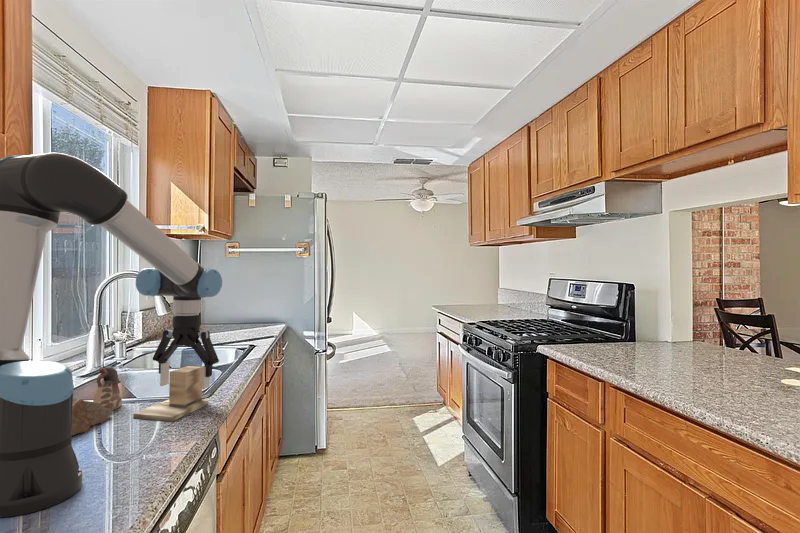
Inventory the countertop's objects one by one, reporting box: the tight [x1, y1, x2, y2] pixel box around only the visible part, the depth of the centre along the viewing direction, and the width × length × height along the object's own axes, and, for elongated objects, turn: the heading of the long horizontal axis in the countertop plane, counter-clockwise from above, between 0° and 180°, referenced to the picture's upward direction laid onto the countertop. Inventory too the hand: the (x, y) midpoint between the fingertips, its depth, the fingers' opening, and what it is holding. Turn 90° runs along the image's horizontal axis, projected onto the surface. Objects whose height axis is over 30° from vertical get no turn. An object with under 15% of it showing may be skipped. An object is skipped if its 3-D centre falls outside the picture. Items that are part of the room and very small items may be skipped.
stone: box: [72, 398, 113, 436], centre depth 117 cm, size 17×9×10 cm, turn 177°
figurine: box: [92, 366, 123, 411], centre depth 134 cm, size 7×7×12 cm
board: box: [133, 398, 209, 422], centre depth 131 cm, size 16×12×1 cm
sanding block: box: [168, 365, 203, 408], centre depth 135 cm, size 8×5×10 cm, turn 169°
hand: (184, 386), depth 134 cm, fingers open, 13 cm apart
